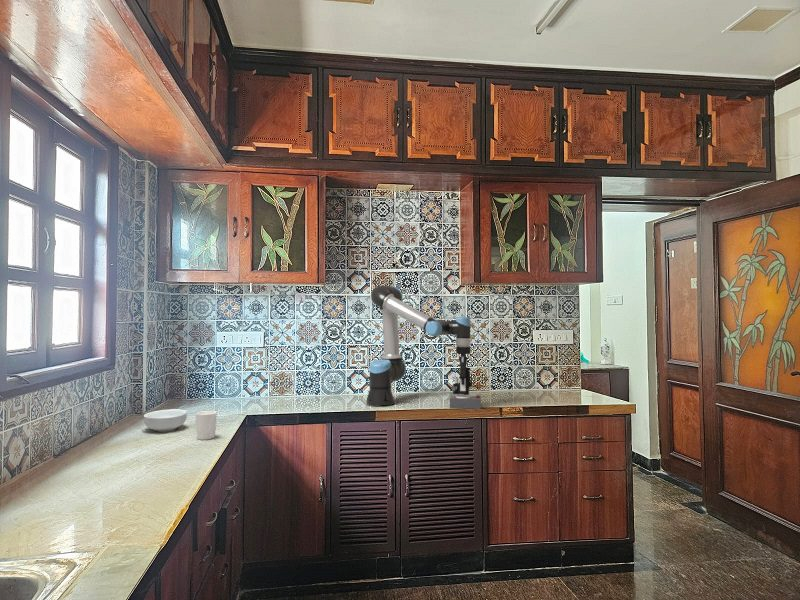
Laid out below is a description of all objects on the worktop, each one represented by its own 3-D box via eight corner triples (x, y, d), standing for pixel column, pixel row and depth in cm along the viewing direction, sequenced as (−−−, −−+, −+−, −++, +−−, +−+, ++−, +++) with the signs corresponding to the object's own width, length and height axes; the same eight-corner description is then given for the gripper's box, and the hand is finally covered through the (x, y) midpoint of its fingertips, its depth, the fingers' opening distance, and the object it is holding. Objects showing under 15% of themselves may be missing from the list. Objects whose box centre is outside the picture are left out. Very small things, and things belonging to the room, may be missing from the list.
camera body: (449, 407, 257) (449, 396, 257) (450, 405, 265) (450, 394, 265) (480, 409, 254) (480, 397, 254) (481, 406, 262) (481, 395, 262)
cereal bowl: (135, 430, 210) (135, 414, 210) (172, 423, 224) (172, 407, 224) (157, 436, 201) (158, 419, 201) (194, 428, 215) (194, 412, 215)
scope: (456, 366, 267) (474, 367, 263) (456, 392, 266) (474, 393, 262) (451, 367, 259) (470, 368, 255) (451, 394, 258) (470, 395, 254)
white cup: (198, 441, 193) (198, 415, 194) (193, 437, 200) (193, 412, 200) (219, 438, 198) (219, 413, 198) (213, 434, 204) (213, 409, 205)
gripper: (469, 347, 249) (469, 393, 249) (471, 344, 270) (471, 386, 269) (454, 347, 251) (454, 392, 250) (457, 344, 271) (457, 386, 271)
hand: (463, 389), depth 260 cm, fingers closed on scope, 8 cm apart
